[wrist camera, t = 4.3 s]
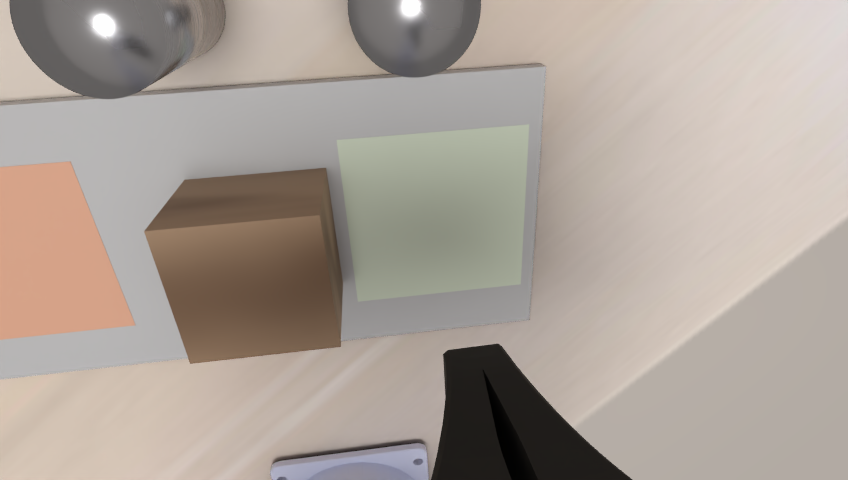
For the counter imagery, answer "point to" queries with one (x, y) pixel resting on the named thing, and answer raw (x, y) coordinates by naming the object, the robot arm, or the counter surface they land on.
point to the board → (263, 153)
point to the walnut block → (250, 264)
